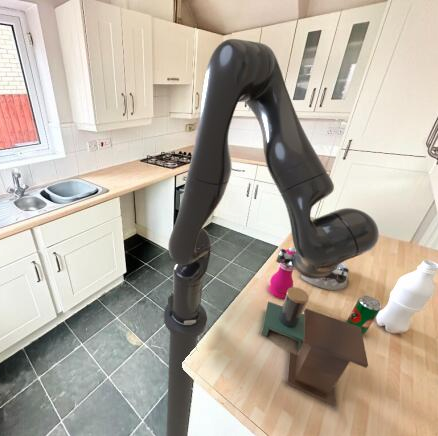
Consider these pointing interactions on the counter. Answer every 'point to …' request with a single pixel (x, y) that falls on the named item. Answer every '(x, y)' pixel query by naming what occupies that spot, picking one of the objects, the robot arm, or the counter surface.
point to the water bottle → (408, 298)
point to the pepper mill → (282, 279)
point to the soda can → (364, 312)
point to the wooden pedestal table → (324, 355)
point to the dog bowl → (327, 281)
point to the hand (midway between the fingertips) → (305, 270)
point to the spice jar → (293, 307)
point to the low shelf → (275, 325)
